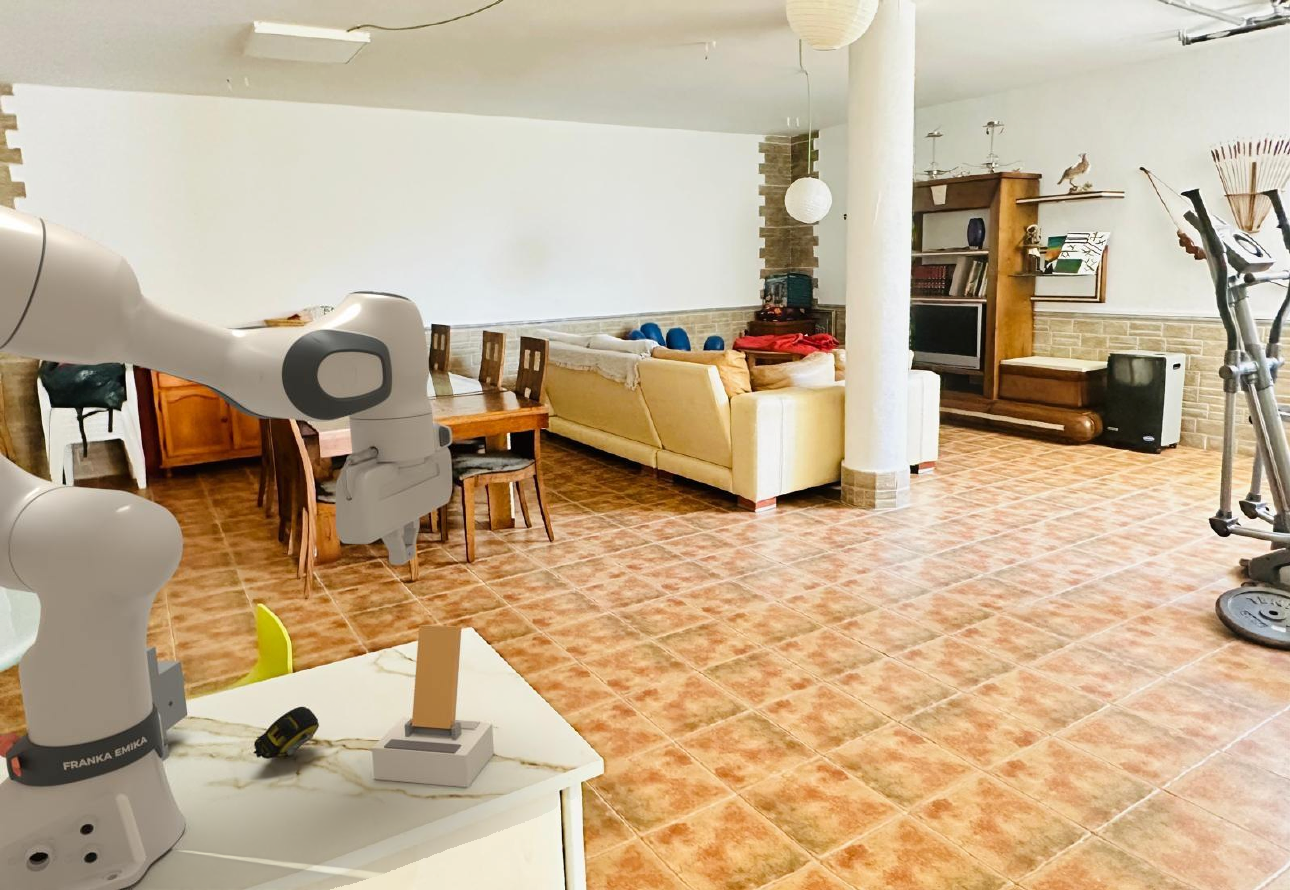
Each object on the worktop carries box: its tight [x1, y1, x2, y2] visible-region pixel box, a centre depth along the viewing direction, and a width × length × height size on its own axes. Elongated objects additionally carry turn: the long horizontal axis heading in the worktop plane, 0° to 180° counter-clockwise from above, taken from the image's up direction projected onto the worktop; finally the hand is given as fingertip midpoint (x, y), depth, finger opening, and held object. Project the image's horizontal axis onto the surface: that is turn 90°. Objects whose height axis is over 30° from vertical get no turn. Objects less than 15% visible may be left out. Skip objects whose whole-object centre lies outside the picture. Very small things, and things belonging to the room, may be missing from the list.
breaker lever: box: [411, 624, 462, 736], centre depth 108 cm, size 1×5×13 cm, turn 78°
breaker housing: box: [371, 716, 495, 788], centre depth 107 cm, size 8×12×6 cm, turn 78°
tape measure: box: [253, 706, 320, 760], centre depth 109 cm, size 7×7×4 cm
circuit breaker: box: [146, 646, 188, 762], centre depth 110 cm, size 8×14×15 cm, turn 174°
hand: (403, 561), depth 99 cm, fingers closed
